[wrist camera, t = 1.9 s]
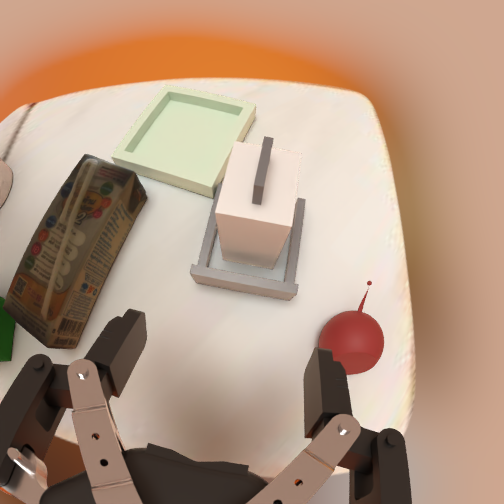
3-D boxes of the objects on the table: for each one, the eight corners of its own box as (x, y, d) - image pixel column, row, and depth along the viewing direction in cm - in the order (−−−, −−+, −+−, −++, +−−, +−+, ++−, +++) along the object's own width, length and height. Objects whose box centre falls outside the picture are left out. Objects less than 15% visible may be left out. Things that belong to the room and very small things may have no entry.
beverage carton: (153, 197, 31) (136, 165, 25) (78, 353, 26) (43, 353, 19) (102, 178, 32) (80, 147, 26) (32, 318, 26) (-4, 310, 20)
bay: (196, 282, 28) (189, 273, 25) (219, 190, 32) (217, 170, 28) (289, 300, 28) (297, 293, 24) (302, 205, 31) (310, 187, 28)
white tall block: (223, 259, 29) (212, 194, 16) (235, 205, 31) (234, 118, 18) (272, 269, 29) (299, 210, 16) (281, 213, 31) (308, 131, 18)
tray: (117, 168, 32) (110, 156, 30) (168, 97, 36) (165, 84, 33) (213, 198, 31) (211, 187, 29) (255, 117, 35) (256, 104, 33)
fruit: (364, 334, 29) (399, 286, 24) (366, 380, 25) (410, 339, 20) (311, 325, 30) (339, 273, 24) (309, 373, 25) (342, 328, 20)
